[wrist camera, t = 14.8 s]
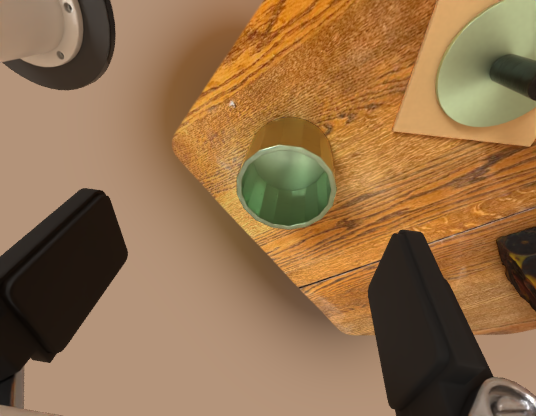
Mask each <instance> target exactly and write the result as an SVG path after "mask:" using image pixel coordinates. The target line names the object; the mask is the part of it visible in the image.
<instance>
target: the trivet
mask: <svg viewBox="0 0 536 416" xmlns="http://www.w3.org/2000/svg"><path fill="white" fill-rule="evenodd" d="M499 1H501V0H437V2H436V4H435V7H434V10H433V13H432V16H431V19H430V22H429V24H428V27H427V30H426V33H425V36H424V39H423V42H422V45H421V47H420V50H419V53H418V56H417V59H416V62H415V65H414V68H413V70H412V73H411V76H410V79H409V82H408V85H407V88H406V90H405V93H404V96H403V99H402V102H401V105H400V108H399V111H398V113H397V116H396V119H395V122H394V125H393V128H392V131H394V132H403V133H412V134H421V135H430V136H439V137H448V138H457V139H466V140H475V141H484V142H493V143H502V144H511V145H520V146H529V147H530V146H531V144H532V143H533V141H534V140H535V138H536V107H535V108H534V109H532V110H531V111H529V112H527V113H526V114H524V115H522V116H520V117H518V118H516V119H514V120H511V121H509V122H506V123H503V124H499V125H495V126H489V127H472V126H466V125H463V124H460V123H458V122H456V121H454V120H453V119H452V118H450V117H449V116H448V115H447V114H446V113H445V112H444V111H443V110H442V108H441V106H440V105H439V102H438V100H437V95H436V87H435V85H436V76H437V71H438V68H439V65H440V62H441V59H442V57H443V55H444V53H445V51H446V50H447V48H448V46H449V44H450V43H451V42H452V40H453V39H454V38H455V36H456V35H457V34H458V33H459V32H460V30H461V29H462V28H463V27H464V26H465V25H466V24H467V23H468V22H469V21H470V20H472V19H473V18H474V17H475V16H477V15H478V14H479V13H480V12H482V11H484V10H485V9H487V8H488V7H490V6H492V5H493V4H495V3H497V2H499Z"/></svg>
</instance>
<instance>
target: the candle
mask: <svg viewBox="0 0 536 416" xmlns="http://www.w3.org/2000/svg"><path fill="white" fill-rule="evenodd" d="M497 244H498V248H499V254H500V256H501V261H502V262H503V264H502V265H505V266H506V277H507V279H508V280H509V281H510V282H511V284H512V285H513V286H514V287H515V289H516V291H517V292H518V293H519V295H520V296H521V297H522V298H523V299H525V300H526V301H527V302H528V303H529V304H530V305H531V307H532V308H533V309H534V310H535V311H536V227H534V228H531V229H527V230H524V231H521V232H518V233H514V234H510V235H508V236H504V237H500V238H499V239H497Z"/></svg>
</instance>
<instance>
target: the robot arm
mask: <svg viewBox="0 0 536 416" xmlns="http://www.w3.org/2000/svg"><path fill="white" fill-rule="evenodd" d="M83 31H84V29H83V18H82V14H81V10H80V5H79V3H78V0H0V62H5V61H10V60H14V59H19V58H20V59H22V60H23V61H25V62H28V63H30V64H33V65H36V66H41V67H56V66H60V65H63V64H65V63H68V62H70V61H71V60H72V59H73V58H74V57H75V56H76V55H77V53H78V52H79V50H80V47H81V44H82V41H83ZM127 256H128V251H127V248H126V245H125V242H124V239H123V236H122V233H121V230H120V227H119V225H118V221H117V218H116V215H115V212H114V210H113V206H112V203H111V200H110V198H109V197H108V196H106V194H105V193H104V192H103V191H101V190H94V189H87V188H83V189H81V190H79V191H78V192H77V193H76V194H74V195H73V196H72V197H71V198H70V199H68V200H67V201H66V202H65V203H64V204H62V205H61V206H60V207H59V208H58V209H57V210H56V211H54V212H53V213H52V214H50V215H49V216H48V217H47V218H46V219H44V220H43V221H42V222H41V223H40V224H39V225H37V226H36V227H35V228H34V229H33V230H32V231H30V232H29V233H28V234H27V235H25V236H24V237H23V238H22V239H21V240H19V241H18V242H17V243H16V244H15V245H13V246H12V247H11V248H10V249H9V250H8V251H6V252H5V253H4V254H3V255H1V256H0V416H61V415H55V414H49V413H44V412H38V411H32V410H27V409H24V365H25V364H26V363H27V361H28V360H29V359H30V358H31V359H32V360H37V361H42V362H48V363H50V362H51V361H52V360H53V358H54V357H55V355H56V354H57V353H59V352H61V351H62V350H64V348H65V347H66V346H67V344H68V343H69V342H70V340H71V339H72V337H73V336H74V334H75V333H76V332H77V330H78V329H79V327H80V326H81V324H82V323H83V322H84V320H85V319H86V317H87V316H88V314H89V313H90V312H91V310H92V309H93V307H94V306H95V304H96V303H97V302H98V300H99V299H100V297H101V296H102V294H103V293H104V291H105V290H106V289H107V287H108V286H109V284H110V283H111V282H112V280H113V279H114V277H115V276H116V274H117V273H118V272H119V270H120V269H121V267H122V266H123V264H124V263H125V261H126V260H127ZM368 298H369V304H370V309H371V314H372V320H373V325H374V330H375V335H376V340H377V346H378V351H379V357H380V361H381V367H382V373H383V378H384V383H385V388H386V393H387V399H388V403H389V406H390V407H391V408H392V409H395V411H396V416H536V396H534V395H533V394H532V393H531V392H530V391H528V390H527V389H526V388H524V387H522V386H521V385H519V384H517V383H515V382H513V381H511V380H508V379H505V378H498V377H493V375H492V373H491V370H490V368H489V366H488V364H487V362H486V360H485V358H484V356H483V354H482V352H481V350H480V348H479V345H478V343H477V341H476V339H475V337H474V335H473V333H472V331H471V329H470V326H469V324H468V322H467V320H466V318H465V316H464V314H463V312H462V310H461V308H460V306H459V303H458V301H457V299H456V297H455V295H454V293H453V291H452V289H451V287H450V285H449V283H448V282H447V280H446V279H444V278H443V275H442V273H441V271H440V269H439V267H438V265H437V263H436V261H435V258H434V256H433V254H432V252H431V250H430V248H429V246H428V243H427V241H426V239H425V237H424V235H423V234H422V233H421V232H417V231H409V230H400V231H399V233H398V234H397V233H394V234H393V235H392V237H391V239H390V241H389V243H388V245H387V248H386V250H385V252H384V254H383V256H382V259H381V261H380V263H379V265H378V267H377V269H376V272H375V274H374V276H373V278H372V280H371V283H370V285H369V288H368Z"/></svg>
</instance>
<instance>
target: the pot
mask: <svg viewBox="0 0 536 416" xmlns="http://www.w3.org/2000/svg"><path fill="white" fill-rule="evenodd" d="M336 191H337V187H336V179H335V172H334V164H333V157H332V152H331V147H330V143H329V141H328V139H327V137H326V136H325V134H324V133H323V132H322V131H321V130H320V129H319V128H318V127H317V126H316V125H314V124H313V123H311V122H309V121H307V120H304V119H300V118H294V117H286V118H280V119H276V120H273V121H271V122H269V123H267V124H266V125H264V126H263V127H262V128H261V129H260V130H259V131H258V132H257V133H256V134H255V136H254V138H253V140H252V142H251V144H250V146H249V148H248V151H247V153H246V156H245V158H244V161H243V163H242V165H241V168H240V170H239V173H238V175H237V195H238V197H239V200H240V202H241V204H242V206H243V208H244V209H245V210H246V211H247V212H248V213H249V214H250V215H251V216H252V217H253V218H254V219H255V220H257V221H259V222H261V223H263V224H265V225H268V226H270V227H273V228H280V229H288V230H290V229H296V228H302V227H307V226H309V225H311V224H313V223H315V222H316V221H318V220H320V219H322V218H323V217H324V215H325V214H326V213H327V212H328V211H329V209H330V208H331V207H332V205H333V202H334V198H335V195H336Z"/></svg>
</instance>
